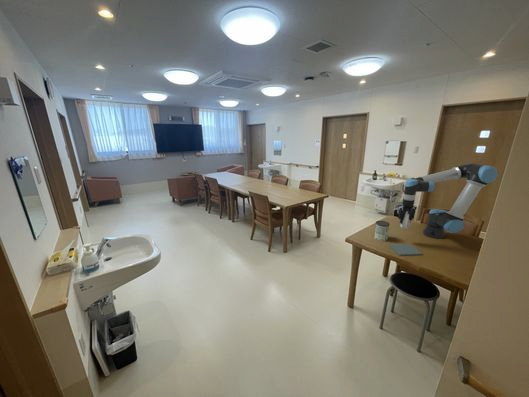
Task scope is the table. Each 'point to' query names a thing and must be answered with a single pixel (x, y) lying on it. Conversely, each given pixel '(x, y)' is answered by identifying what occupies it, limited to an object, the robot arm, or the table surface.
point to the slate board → (405, 249)
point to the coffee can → (381, 230)
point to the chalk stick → (406, 221)
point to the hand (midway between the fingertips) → (404, 226)
